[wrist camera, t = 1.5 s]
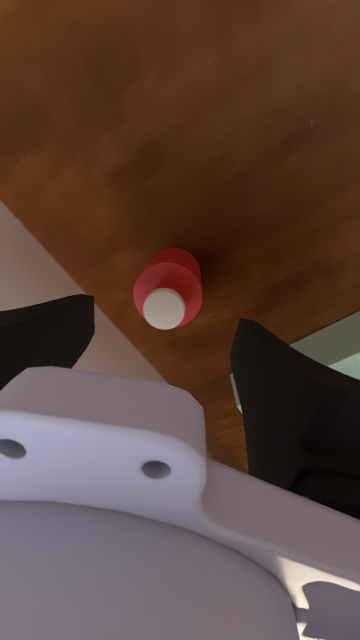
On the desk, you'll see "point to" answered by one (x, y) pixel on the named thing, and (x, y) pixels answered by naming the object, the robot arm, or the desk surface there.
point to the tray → (331, 348)
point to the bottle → (169, 289)
